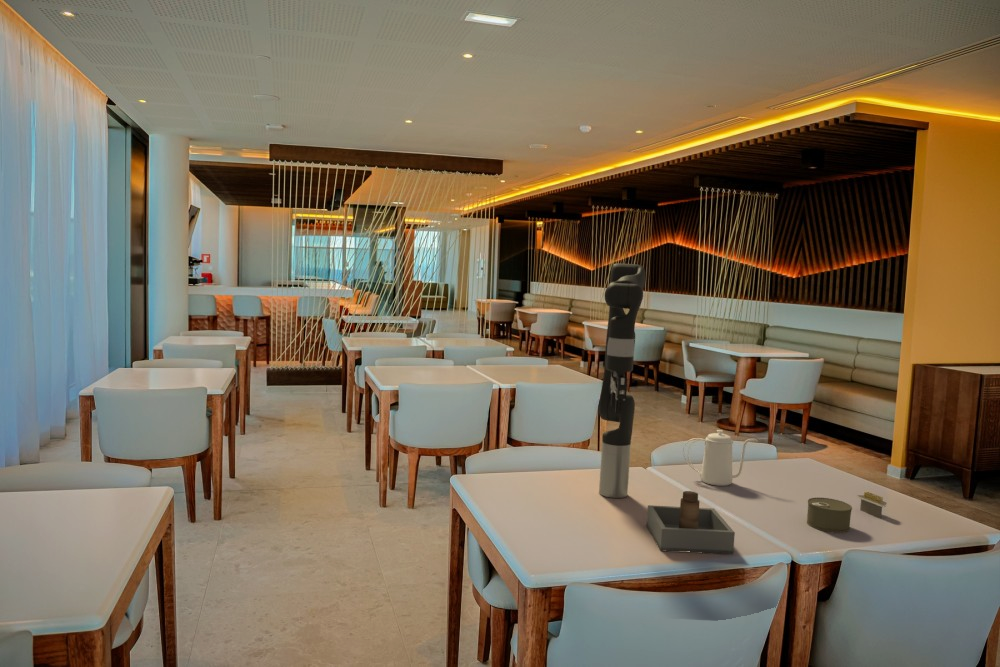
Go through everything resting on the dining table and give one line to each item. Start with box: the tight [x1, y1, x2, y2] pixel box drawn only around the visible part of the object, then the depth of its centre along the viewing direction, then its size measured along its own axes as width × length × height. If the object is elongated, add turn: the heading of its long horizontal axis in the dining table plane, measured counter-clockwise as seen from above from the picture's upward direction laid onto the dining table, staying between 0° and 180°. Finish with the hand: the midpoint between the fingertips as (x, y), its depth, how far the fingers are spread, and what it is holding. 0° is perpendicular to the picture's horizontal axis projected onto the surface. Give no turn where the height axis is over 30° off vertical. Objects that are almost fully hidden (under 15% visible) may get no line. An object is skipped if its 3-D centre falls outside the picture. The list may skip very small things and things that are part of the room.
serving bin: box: [646, 504, 736, 555], centre depth 198 cm, size 19×19×6 cm
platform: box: [856, 491, 887, 519], centre depth 228 cm, size 12×18×7 cm, turn 20°
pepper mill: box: [679, 490, 700, 529], centre depth 198 cm, size 5×5×12 cm
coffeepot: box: [682, 429, 759, 487], centre depth 255 cm, size 11×25×19 cm, turn 71°
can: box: [806, 497, 853, 534], centre depth 215 cm, size 12×12×7 cm
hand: (616, 410), depth 206 cm, fingers open, 8 cm apart
